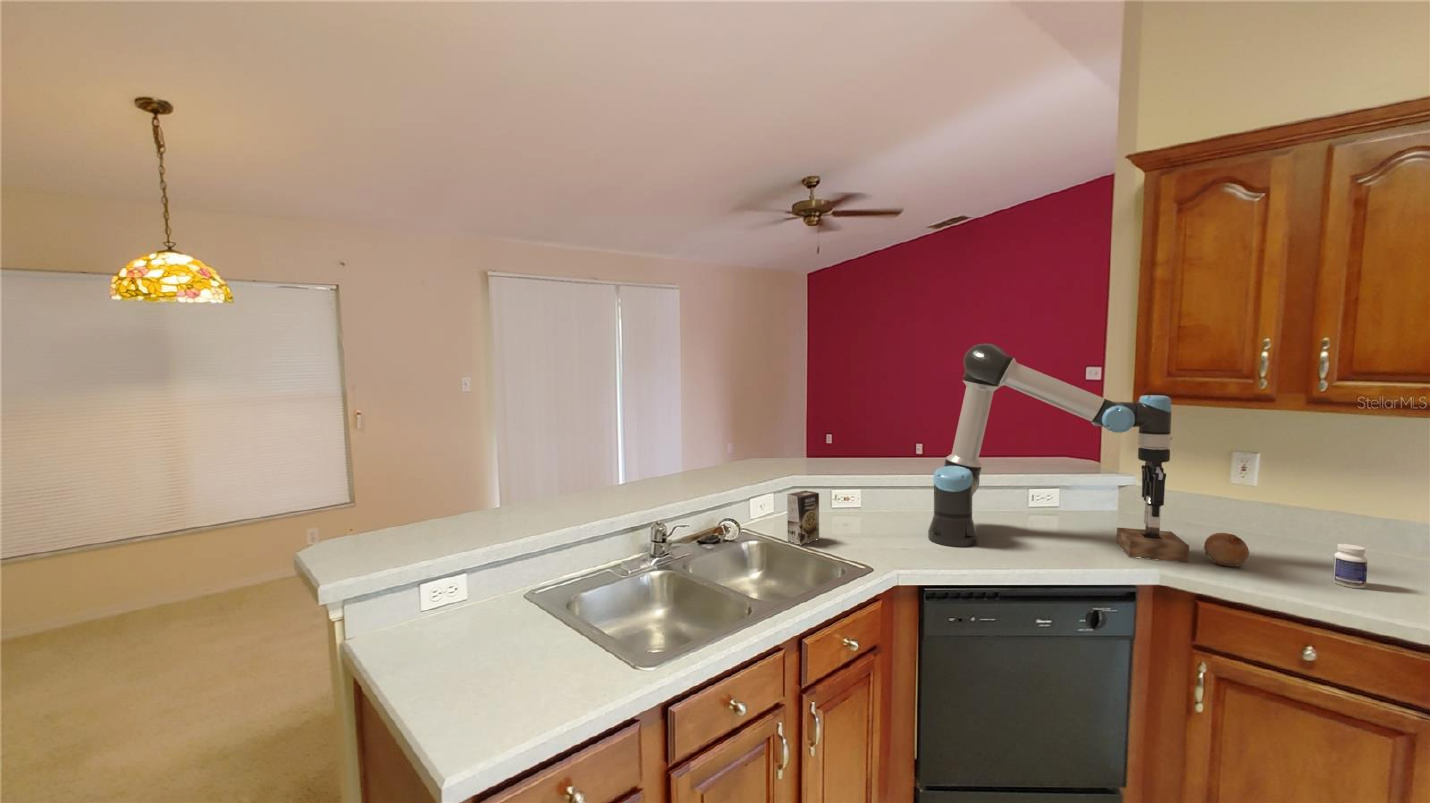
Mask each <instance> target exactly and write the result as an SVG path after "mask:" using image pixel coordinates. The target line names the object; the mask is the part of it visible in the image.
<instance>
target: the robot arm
mask: <svg viewBox="0 0 1430 803" xmlns="http://www.w3.org/2000/svg"><path fill="white" fill-rule="evenodd" d="M963 367H964V374H963V379H962V382H963V384H964V385H965V386H966V387H965V390H964V391H965V392H964V396H963V401H962V406H961V410H960V415H959V419H958V423H957V428H956V433H955V437H954V442H953V445H952V446H953V447H952V451H951V454H948V456H945V460H944V466H941V467H939V468H937V469H936V470H935V471H934V473H933V517H932V519H931V522H930V525H929V527H928V532H927V538H928V539H929V540H930V541H931V542H933V543H935V544H938V545H941V546H949V547H960V548H961V547H962V548H963V547H971V546H975V545H977V544H978V542H979V534H978V531H977V529H976V525H975V522H974V519H973V496H974V494H975V493H976V492H977V490H978V489H979V487H980V477H981V476H980V475H981V472H982V467H983V465H982V463H981V462H980V460H979V457H980V454H981V449H982V444H983V440H984V436H985V432H986V428H987V424H988V423H987V422H988V418H989V414H990V410H991V406H992V401H993V397H994V392H995V391H996V390H998V389H999V388H1001V387H1003V386H1006V387H1008V388H1010V389H1013V390H1016V391H1018V392H1021V393H1023V394H1025V395H1027V396H1030V397H1032V398H1035V399H1036V400H1039V401H1042V402H1044V403H1046V404H1048V405H1051V406H1054V407H1056V408H1059V409H1060V410H1063V411H1066V412H1068V413H1069V414H1072V415H1075V416H1077V417H1080V418H1083V419H1085V420H1087V421H1089V422H1091V424H1092V425H1093V426H1095V427H1103V428H1105V430H1108V431H1109V432H1112V433H1115V434H1117V433H1119V434H1121V433H1125V432H1128V431H1129V430H1131V429H1132V428H1138V436H1137V439H1138V440H1137V441H1138V443H1137V445H1138V446H1139V447H1138V448H1137V450H1138V451H1137V459H1138V460H1139V461H1143V462H1145V463H1144V464H1143V465H1141V467H1140V468H1141V497H1142V498H1143V502H1144V503H1143V523H1144V524H1145V522H1146V496H1147V495H1150V503H1147V505H1148V506H1149V511H1148V527H1156V528H1160V529H1161V507H1162V506H1163V507H1164V505H1165V491H1166V490H1165V488H1166V487H1165V485H1166V478H1167V473H1166V472H1164V471H1165V470H1164V469H1165V468H1164V467H1163V463H1168V462H1170V461H1171V450H1170V447H1171V441H1172V440H1173V437H1172V436H1171V433H1172V432H1171V431H1172V430H1171V428H1172V413H1173V411H1172V398H1170V397H1169V396H1166V395H1160V394H1159V395H1157V394H1155V395H1154V394H1151V395H1150V394H1149V395H1146V394H1144V395H1141V396H1140V397H1139V399H1138V401H1133V402H1130V401H1112V400H1109V399H1106V398H1104V397H1102V396H1100V395H1097V394H1095V393H1093V392H1090V391H1087V390H1085V389H1082V388H1079V387H1077V386H1075V385H1072V384H1071V383H1070V384H1069V383H1067V382H1065V381H1063V380H1060V379H1058V378H1055V377H1053V376H1050V375H1048V374H1045V373H1043V372H1040V371H1038V370H1035V369H1033V368H1030V367H1028V366H1026V365H1023V364H1020V363H1018V362H1017V361H1016V358H1015V357H1013V356H1010V355H1007V354H1006V353H1005V351H1004V350H1003V349H1002V348H1001V347H1000V346H997V345H996V344H992V343H979V344H976V345H973V346H972V347H971V348H969V349H968V350H967V351H966V353H965V354H964V357H963Z"/></svg>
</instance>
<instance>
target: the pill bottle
mask: <svg viewBox="0 0 1430 803" xmlns="http://www.w3.org/2000/svg"><path fill="white" fill-rule="evenodd" d="M1336 548H1337V550H1338V551H1337V552H1335V553H1334V555H1333V567H1332V569H1333V570H1332V582H1334V583H1335V584H1337V585H1338V586H1343V587H1346V588H1350V589H1351V588H1352V589H1365V588H1366V587H1367V575H1368V558H1366V556H1364V555H1366V548H1365V547H1363V546H1360V545H1356V544H1350V543H1349V544H1348V543H1338V544H1337V547H1336Z"/></svg>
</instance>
